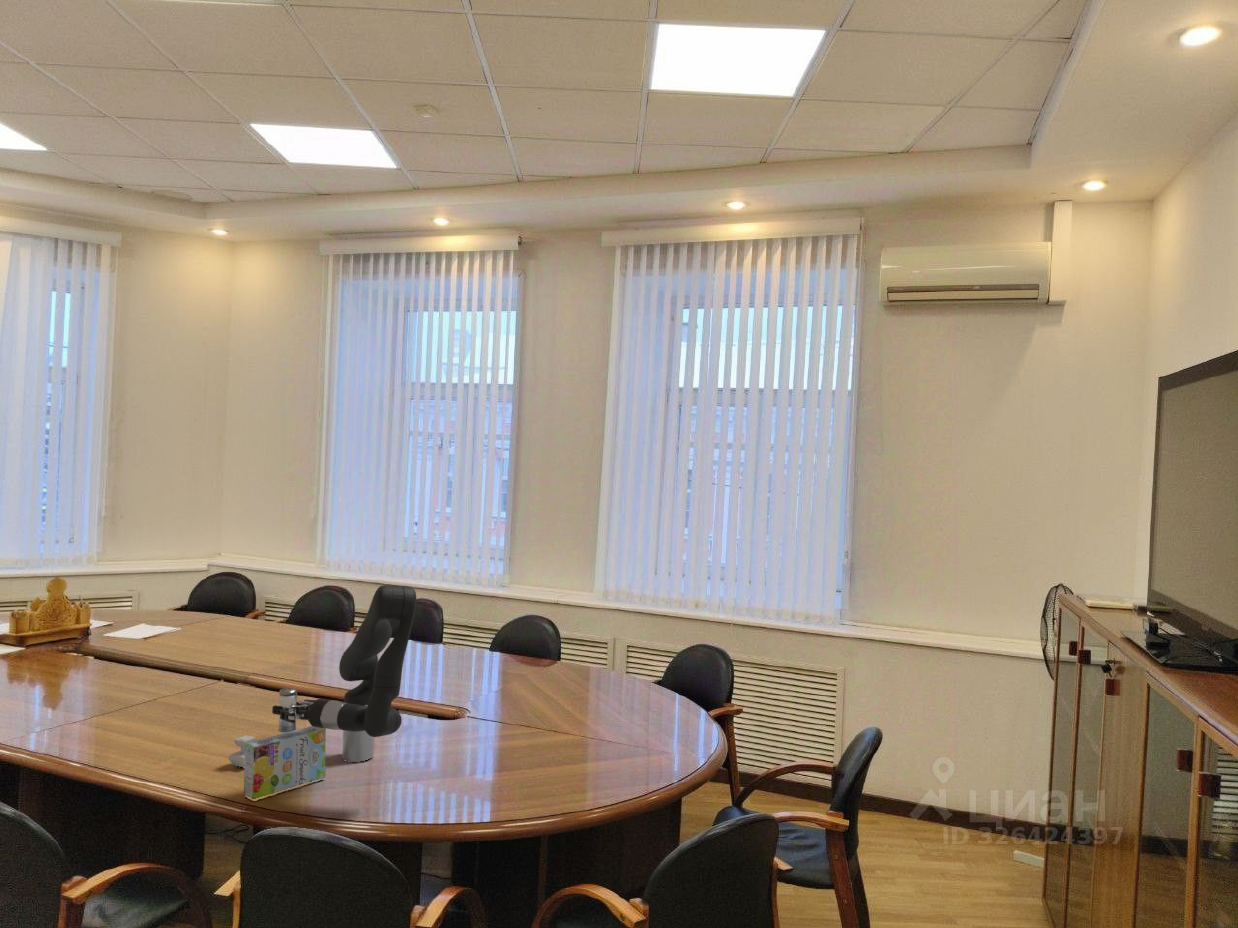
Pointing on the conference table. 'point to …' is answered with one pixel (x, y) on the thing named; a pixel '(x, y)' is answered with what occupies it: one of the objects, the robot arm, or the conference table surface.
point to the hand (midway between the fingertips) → (279, 706)
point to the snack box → (284, 761)
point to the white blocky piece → (239, 757)
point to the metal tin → (287, 700)
